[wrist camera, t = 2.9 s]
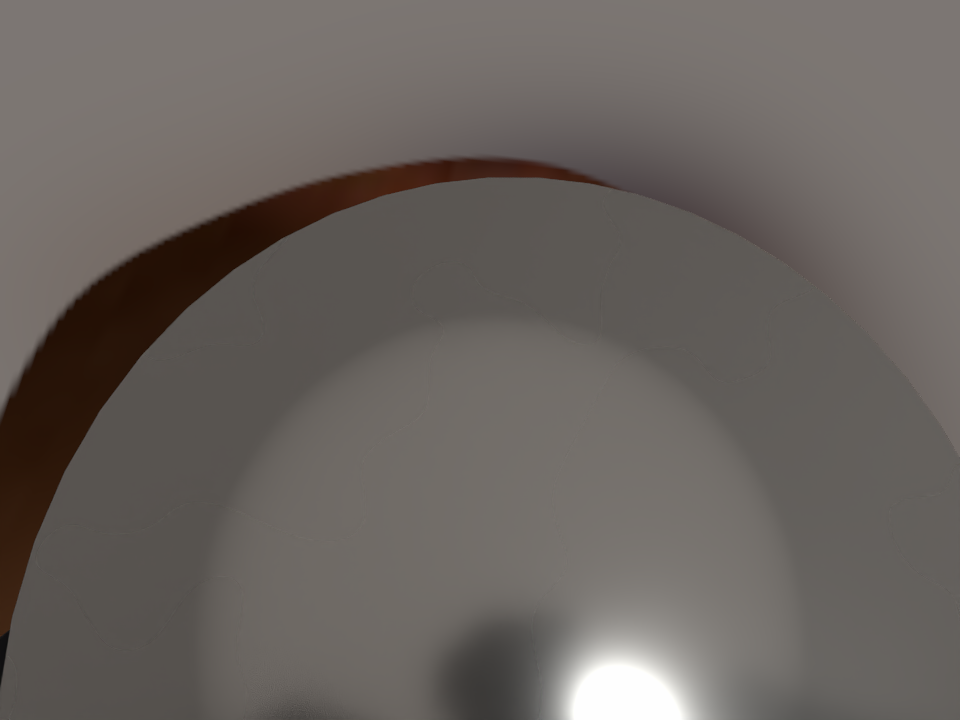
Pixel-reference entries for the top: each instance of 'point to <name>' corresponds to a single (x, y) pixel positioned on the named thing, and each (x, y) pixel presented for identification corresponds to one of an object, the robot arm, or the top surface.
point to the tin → (501, 487)
